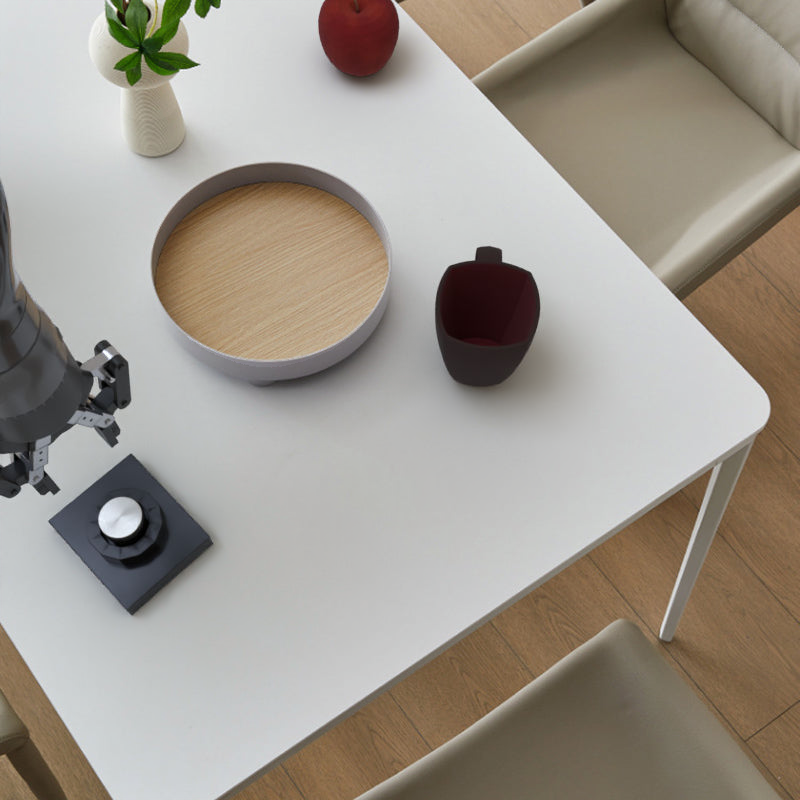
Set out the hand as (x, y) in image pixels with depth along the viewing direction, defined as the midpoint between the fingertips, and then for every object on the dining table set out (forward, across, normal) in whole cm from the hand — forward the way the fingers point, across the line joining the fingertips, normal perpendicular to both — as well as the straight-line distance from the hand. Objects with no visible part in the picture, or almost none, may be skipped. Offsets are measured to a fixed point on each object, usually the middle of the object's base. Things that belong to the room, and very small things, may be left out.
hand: (78, 461), depth 81 cm
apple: (+20, -57, -28) cm, 66 cm away
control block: (+19, 0, 0) cm, 19 cm away
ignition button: (+16, 0, 0) cm, 16 cm away
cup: (+20, -39, +9) cm, 45 cm away
